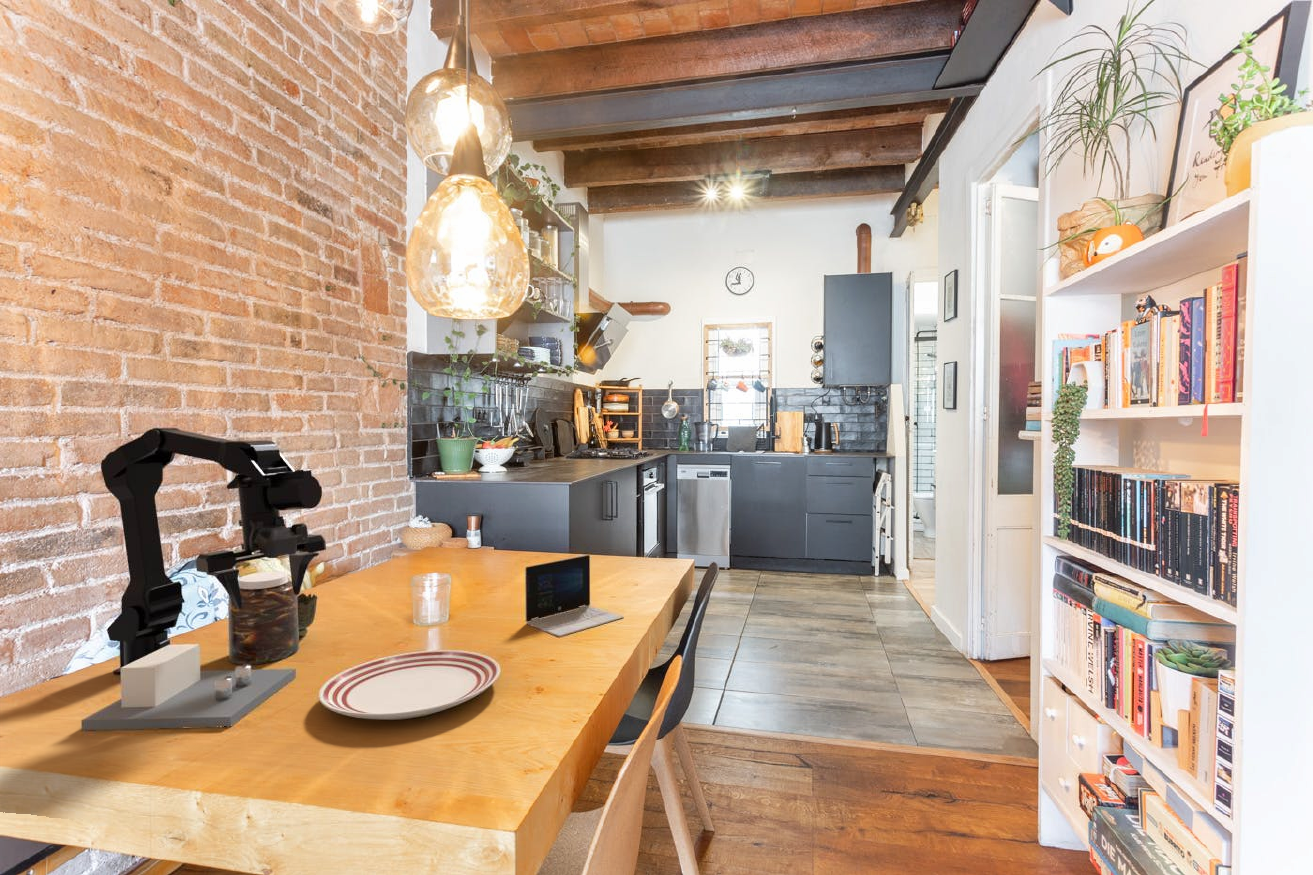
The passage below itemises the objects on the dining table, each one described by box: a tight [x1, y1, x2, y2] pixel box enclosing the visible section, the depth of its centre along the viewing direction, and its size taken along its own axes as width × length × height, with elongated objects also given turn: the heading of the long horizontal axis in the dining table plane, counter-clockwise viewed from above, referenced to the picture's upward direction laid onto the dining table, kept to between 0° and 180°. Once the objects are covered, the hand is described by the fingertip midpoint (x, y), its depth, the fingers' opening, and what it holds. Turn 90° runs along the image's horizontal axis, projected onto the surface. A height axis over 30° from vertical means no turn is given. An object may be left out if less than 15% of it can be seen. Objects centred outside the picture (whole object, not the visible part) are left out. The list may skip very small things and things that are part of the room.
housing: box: [120, 643, 201, 707], centre depth 101 cm, size 5×10×6 cm, turn 2°
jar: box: [227, 570, 300, 666], centre depth 122 cm, size 12×12×15 cm
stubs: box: [215, 664, 252, 701], centre depth 101 cm, size 2×7×3 cm, turn 2°
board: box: [80, 668, 297, 731], centre depth 101 cm, size 21×18×2 cm
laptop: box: [524, 554, 624, 638], centre depth 141 cm, size 18×12×13 cm
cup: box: [298, 592, 318, 638], centre depth 132 cm, size 8×7×8 cm
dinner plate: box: [318, 649, 501, 721], centre depth 103 cm, size 28×27×3 cm
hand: (269, 601), depth 111 cm, fingers open, 9 cm apart
